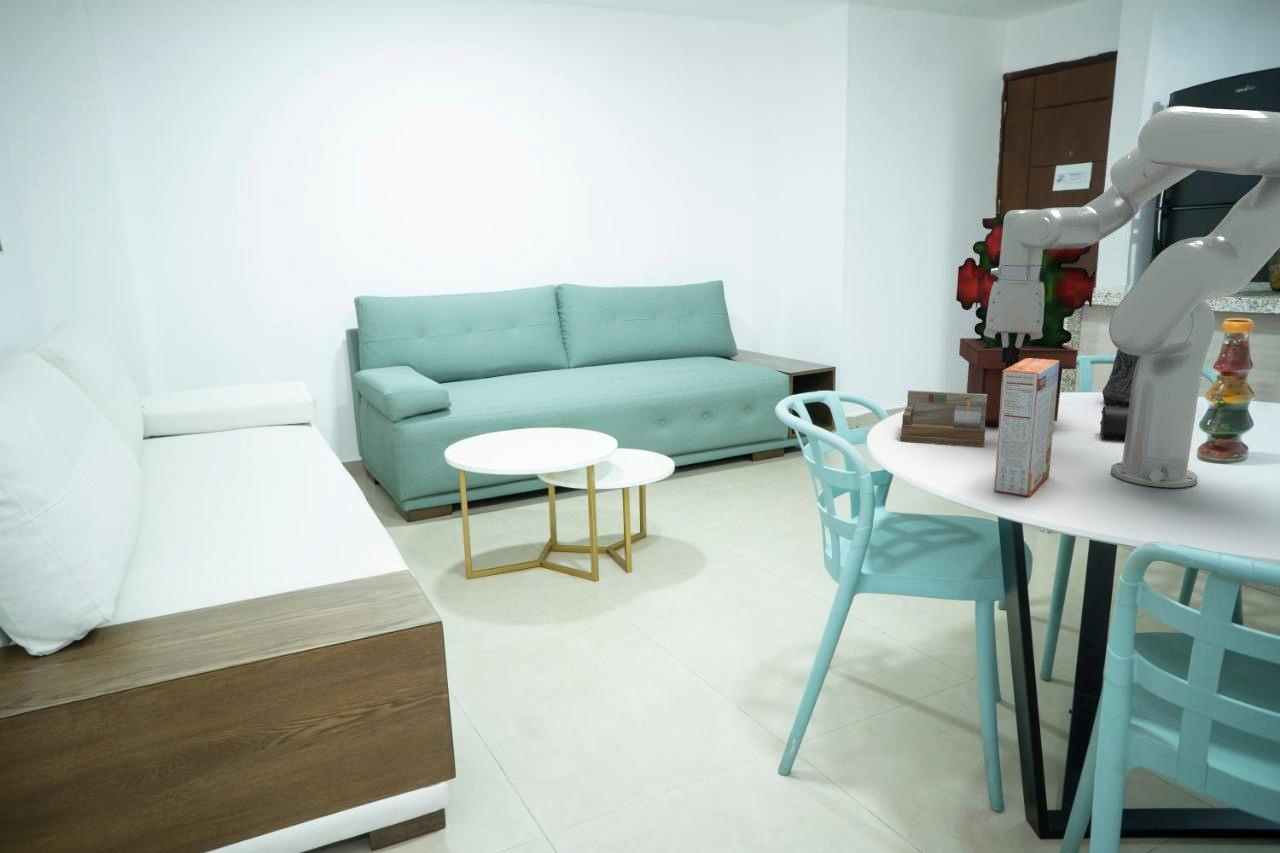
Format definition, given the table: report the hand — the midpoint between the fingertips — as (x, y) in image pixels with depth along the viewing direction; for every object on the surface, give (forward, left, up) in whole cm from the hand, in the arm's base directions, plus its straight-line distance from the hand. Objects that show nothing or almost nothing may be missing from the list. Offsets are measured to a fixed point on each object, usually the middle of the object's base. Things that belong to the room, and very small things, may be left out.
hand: (1009, 366), depth 159 cm
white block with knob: (0, +7, -14) cm, 16 cm away
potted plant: (+19, -1, -16) cm, 25 cm away
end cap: (+9, -23, -16) cm, 30 cm away
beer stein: (+43, -31, -16) cm, 55 cm away
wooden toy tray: (0, +12, -16) cm, 19 cm away
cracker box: (-30, -2, -16) cm, 34 cm away
